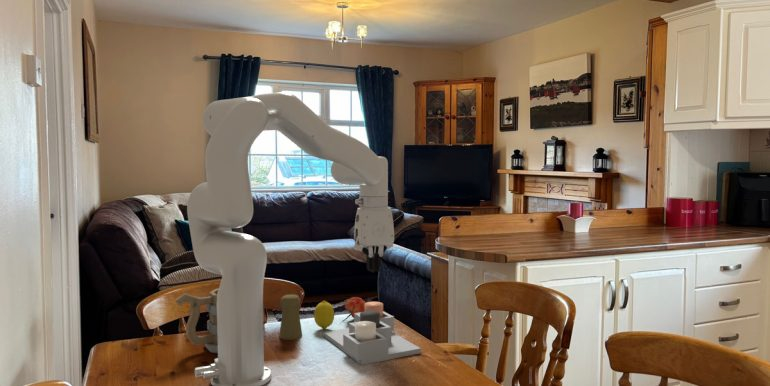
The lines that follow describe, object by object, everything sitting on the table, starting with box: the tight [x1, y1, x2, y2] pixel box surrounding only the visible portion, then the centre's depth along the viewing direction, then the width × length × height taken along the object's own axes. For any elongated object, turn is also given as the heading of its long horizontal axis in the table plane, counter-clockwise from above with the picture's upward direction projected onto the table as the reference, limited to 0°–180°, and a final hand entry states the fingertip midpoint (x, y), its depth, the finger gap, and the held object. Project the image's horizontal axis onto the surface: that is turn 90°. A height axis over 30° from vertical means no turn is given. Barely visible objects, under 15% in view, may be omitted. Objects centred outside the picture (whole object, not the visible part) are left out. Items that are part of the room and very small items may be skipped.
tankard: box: [175, 287, 219, 354], centre depth 141 cm, size 20×13×15 cm, turn 122°
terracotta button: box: [365, 301, 384, 318], centre depth 153 cm, size 5×5×4 cm
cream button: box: [355, 321, 376, 342], centre depth 135 cm, size 5×5×4 cm
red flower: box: [341, 296, 370, 323], centre depth 164 cm, size 7×7×10 cm
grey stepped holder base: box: [322, 310, 422, 366], centre depth 144 cm, size 18×23×5 cm
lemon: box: [313, 300, 335, 330], centre depth 156 cm, size 6×6×8 cm
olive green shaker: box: [278, 294, 303, 341], centre depth 150 cm, size 6×6×11 cm
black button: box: [360, 311, 380, 328], centre depth 144 cm, size 5×5×4 cm
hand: (373, 270), depth 152 cm, fingers closed
